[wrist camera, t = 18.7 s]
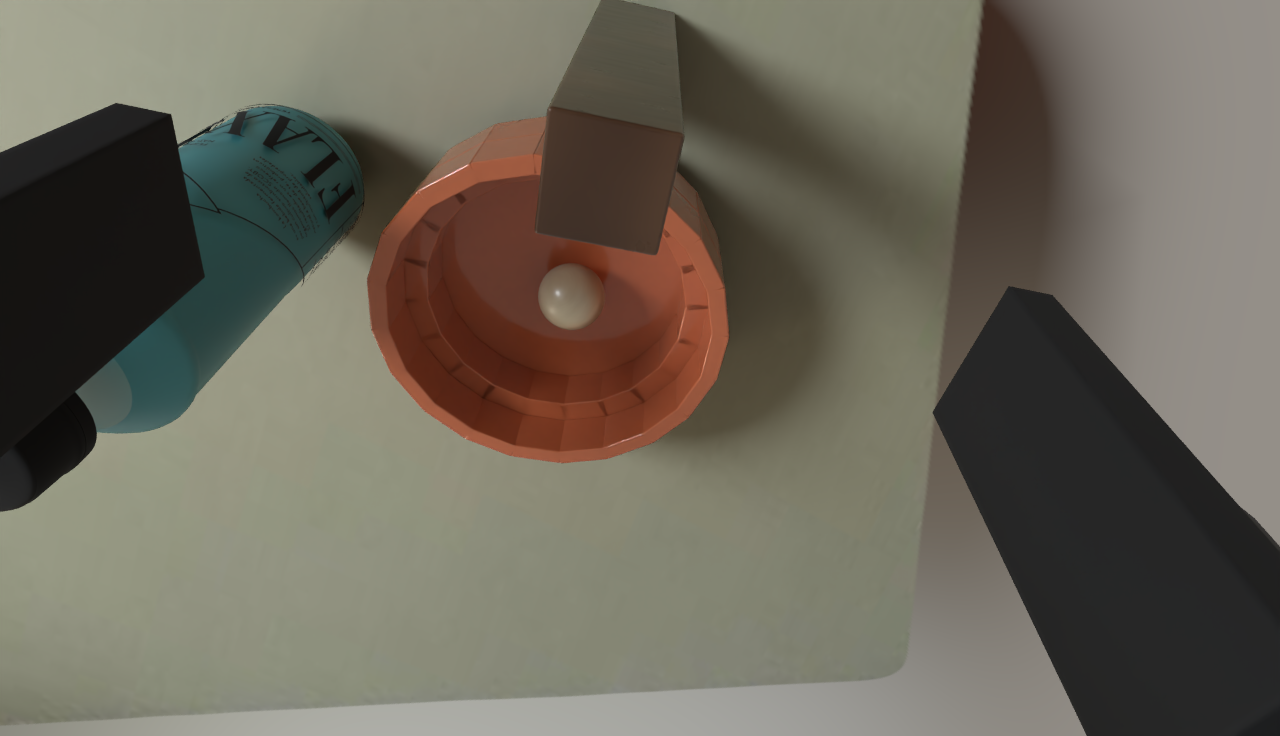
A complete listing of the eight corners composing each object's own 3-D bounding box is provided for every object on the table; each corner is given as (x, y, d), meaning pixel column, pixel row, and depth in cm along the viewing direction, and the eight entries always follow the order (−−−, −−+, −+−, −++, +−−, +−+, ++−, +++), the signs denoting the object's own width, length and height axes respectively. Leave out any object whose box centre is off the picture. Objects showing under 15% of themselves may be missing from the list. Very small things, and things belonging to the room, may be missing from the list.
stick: (591, 73, 29) (533, 234, 16) (602, -5, 27) (546, 106, 14) (659, 88, 29) (657, 257, 16) (675, 12, 28) (685, 134, 15)
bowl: (632, 45, 28) (625, 81, 24) (764, 329, 36) (779, 399, 32) (344, 201, 33) (288, 258, 28) (518, 423, 41) (499, 497, 36)
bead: (596, 263, 30) (626, 288, 33) (543, 244, 32) (576, 270, 35) (566, 327, 30) (599, 347, 33) (514, 305, 32) (550, 326, 35)
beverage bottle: (410, 175, 32) (148, 485, 16) (322, 252, 34) (19, 587, 18) (293, 56, 29) (-175, 287, 13) (207, 149, 31) (-276, 440, 15)
